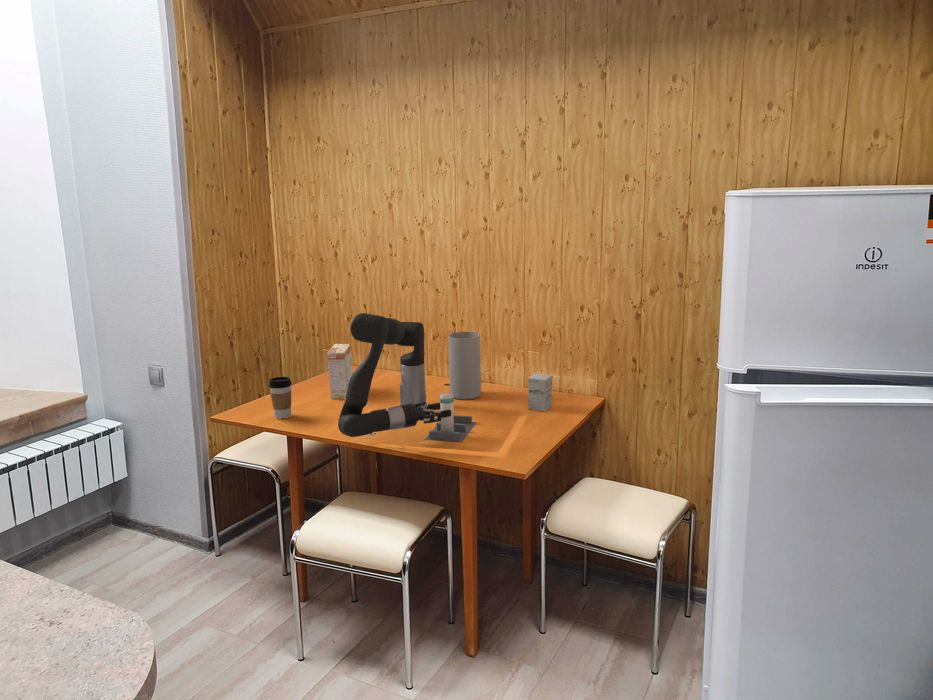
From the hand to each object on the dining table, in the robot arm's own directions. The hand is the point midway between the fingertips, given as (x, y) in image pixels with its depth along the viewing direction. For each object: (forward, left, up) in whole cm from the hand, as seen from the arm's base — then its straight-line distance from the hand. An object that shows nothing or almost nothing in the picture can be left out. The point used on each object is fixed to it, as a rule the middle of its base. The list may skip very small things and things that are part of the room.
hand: (445, 409), depth 243 cm
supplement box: (+25, +39, -11) cm, 47 cm away
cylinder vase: (-7, +49, -11) cm, 50 cm away
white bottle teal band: (0, 0, -9) cm, 9 cm away
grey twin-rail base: (0, +5, -11) cm, 12 cm away
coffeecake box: (-58, +42, -11) cm, 72 cm away
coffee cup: (-68, +11, -11) cm, 69 cm away
